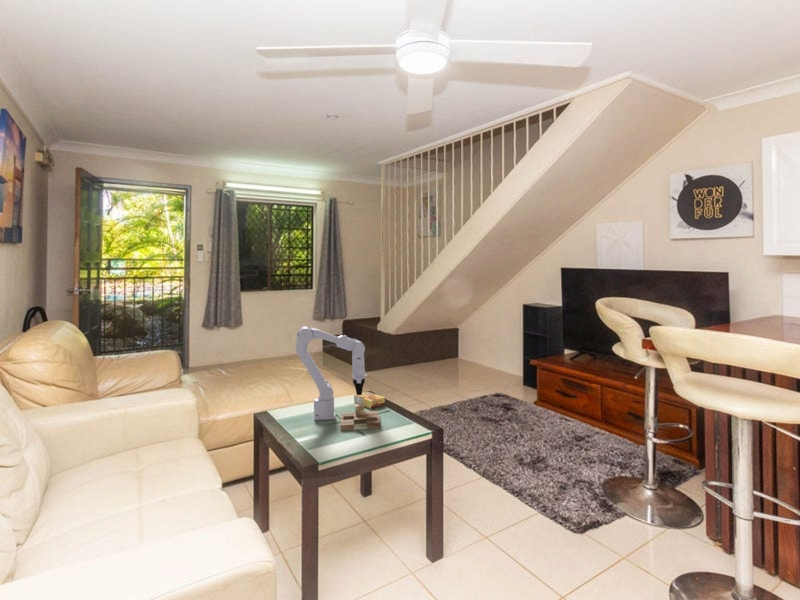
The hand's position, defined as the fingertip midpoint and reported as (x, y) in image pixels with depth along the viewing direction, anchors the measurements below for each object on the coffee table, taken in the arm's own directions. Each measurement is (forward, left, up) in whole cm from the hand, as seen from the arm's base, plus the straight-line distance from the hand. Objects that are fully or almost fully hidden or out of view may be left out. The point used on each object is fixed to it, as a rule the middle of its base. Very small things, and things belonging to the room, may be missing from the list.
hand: (359, 394), depth 203 cm
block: (0, -7, -7) cm, 10 cm away
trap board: (0, -13, -9) cm, 16 cm away
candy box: (+9, +8, -7) cm, 14 cm away
